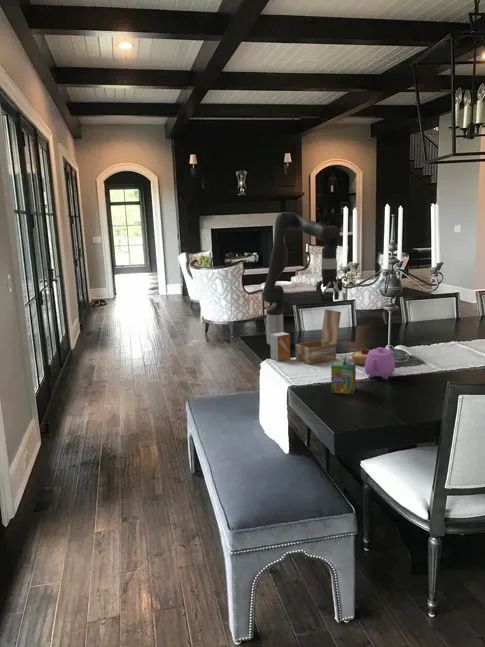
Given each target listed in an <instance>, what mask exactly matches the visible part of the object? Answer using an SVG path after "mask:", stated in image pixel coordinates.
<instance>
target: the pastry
mask: <svg viewBox="0 0 485 647" xmlns="http://www.w3.org/2000/svg"><path fill="white" fill-rule="evenodd" d="M369 351H370V349H369V348H366V347H364V348H361V349H360V350H359V351H354V352H353V353H352V355H351V358H352V359H351V361H356V366H362V367H365V362H366V358H367V355H368V353H369Z"/></svg>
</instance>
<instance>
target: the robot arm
mask: <svg viewBox="0 0 485 647" xmlns="http://www.w3.org/2000/svg"><path fill="white" fill-rule="evenodd" d="M274 222H275V223H274V236H273V245H272V248H271V250H272V251H271V255H270V260H269V265H268V266H269V267H268V271H267V276H266V279H265V282H264V287H263V291H262V299H263V301H264V302H265V303H268V304H269V303H272V304H271V305H270V306H269V307H268V308H267V309H266V327H265V329H266V330H265V331H266V334H265V335H266V343H267V345H269V346H270V334H275V333H281V332H284V308H285V291H284V288H283V286H282V285H280V284H277V280H278V279H279V277H280V276H281V274H282V273H283V272H284V271H285V269H286V267H287V264H288V260H289V250H288V247H287V245H286V242H285V236H286V231H291V230H299V231H300V230H301V231H303V233H305V234H306V235H308V236H311V237H314V238H316V239H317V240H319V241H322V242H327V244H326V245H325V246H323V247H322V248H321V262H320V263H321V266H320V267H321V268H320V269H321V278H322V279H321V280H316V290H315V293H318V294H319V301H320V302H322V303H323V302H325V292H326V291H327V290H328V289H332V290H333V291H334V292H333V294H334V295H333V296H334V297H333V299H334V300H335V301H336V300H337V301H339V298H340V292H341V291H343V279H342V278H339V277H338V260H337V259H338V258H337V255H338V254H337V248H338V246H339V242H340V237H341V231H340V229H339V227H338V226H336V225H324V224H323V223H320V222H317V221H313V220H310V219H307V218H305V217H302V216H301V215H300V214H297V213H296V212H293V211H289V212H287V211H286V212H283V211H282V212H280V213H278V214H277V215H276V217H275V221H274ZM337 277H338V278H337Z"/></svg>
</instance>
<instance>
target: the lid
mask: <svg viewBox="0 0 485 647" xmlns="http://www.w3.org/2000/svg"><path fill="white" fill-rule="evenodd" d="M341 315H342V312H341V311H337V310H331V309H327V308H326V309H324V313H323V321H322V329H321V330H322V331H321V337H320V340H324V341H327V342H331V343H335V344H336V345H337V343H338V337H339V331H340V330H339V328H340V322H341V321H340V320H341Z"/></svg>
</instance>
